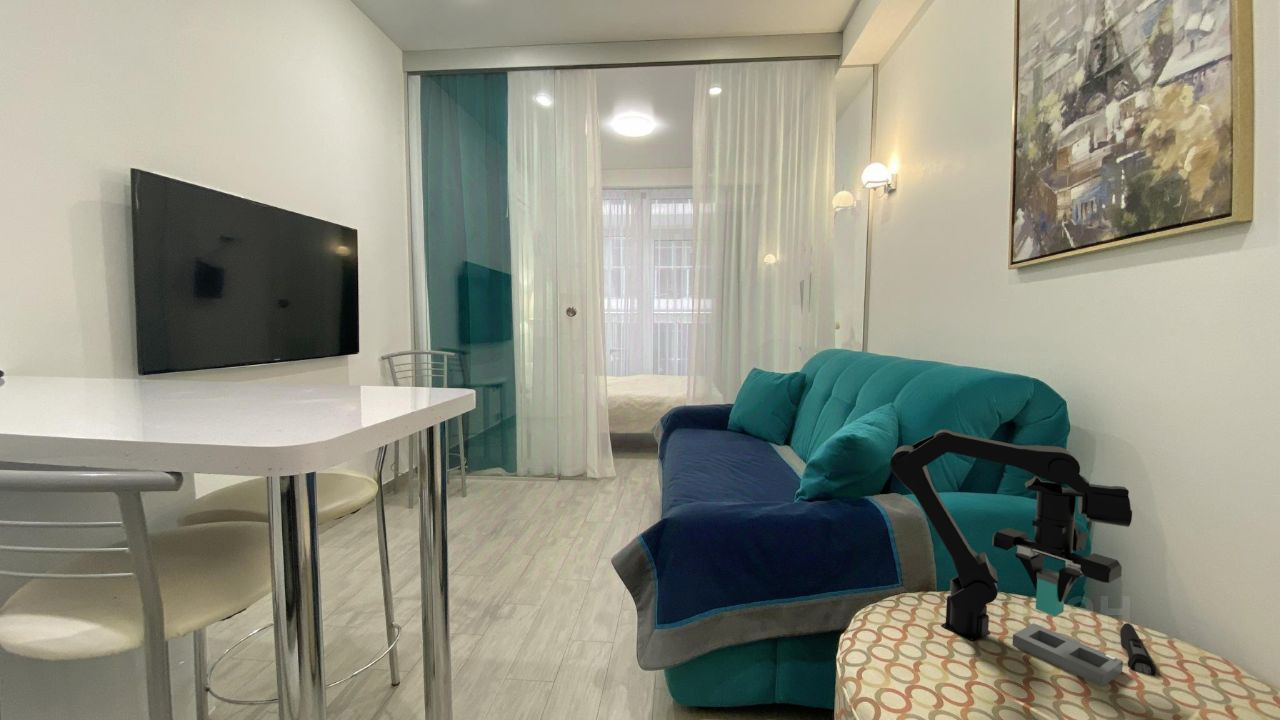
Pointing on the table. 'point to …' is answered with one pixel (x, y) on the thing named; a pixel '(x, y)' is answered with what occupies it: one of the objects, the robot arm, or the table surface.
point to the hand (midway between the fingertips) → (1050, 597)
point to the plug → (1048, 593)
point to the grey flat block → (1068, 654)
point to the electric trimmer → (1136, 651)
